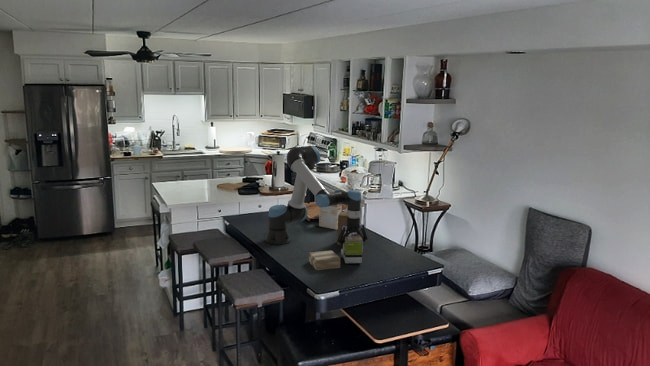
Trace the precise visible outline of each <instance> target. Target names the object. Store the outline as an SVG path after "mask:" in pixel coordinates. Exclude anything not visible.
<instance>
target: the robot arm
mask: <svg viewBox="0 0 650 366" xmlns="http://www.w3.org/2000/svg"><path fill="white" fill-rule="evenodd" d="M320 161H321V152H320V151H319V149H318V148H317V147H316V146H314V145H307V146H294V147H292V148H291V149H289V150H288V152H287V153H286V162H287V166H288V167H289V169H290V170H291V171H292V172H294V173H296V176H295V180H294V185H293V188H292V189H293V190H292V194H291V198H290V199H289V200H288V202H287V205H285V204H275V205H272V206H270V208H269V209H268V230H267V233H266V237H265V243H267V244H270V245H272V246H273V245H275V246H281V245H286V244H287V243H289V242H290V236H289V233H288V230H287V228H288V226H287V225H291V224H296V223H301V222H303V221H305V220H306V218H307V217H308V208H307V206H306V203H305V198H306V194H307V189H309V191H310V192H311V193H312V194H313V195H314V197H315V199H314V202H315V205H316V206H317V207H319V208H320V207H327V206H332V205H338V204H342V205H345V206H347V207H346V208H347V210H346V212H347V216H348V217H347V226H342V230H341V232H340V235H339V237H338V236H337V239H338V240H337V239H336V242H338V243H340V245H339V249H340V254H341V255H342V254H343V255H344V247H345V244H344V242H345V237H348V235H349V234H350V233H356V232H357V234H359V235H361V237H362V239H363V245H362V253H363V251H364V246H365V242H366V241H367V240H368V235H367V233H366V229H365V225H364V224H363V223H361V218H360V217H361V205H362V192H361V190H357V189H349V190H348V191H345V190H342V189H335V190H334V191H333V192H329V191H328V190H327V189H326V188H325V187H324V185H323V184H322V183H321V181H320V180H319V179H318V178H317V177H316V175H315V174H314V173H313V172H312V171H313V170H314V169H315V166H316V165H318V164H319V163H320ZM346 228H347V230H346ZM359 229H360V230H361V231H360V230H359ZM345 230H346V233H345ZM348 231H349V232H348ZM344 233H345V234H344ZM343 235H344V236H343ZM343 255H342V256H343Z"/></svg>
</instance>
